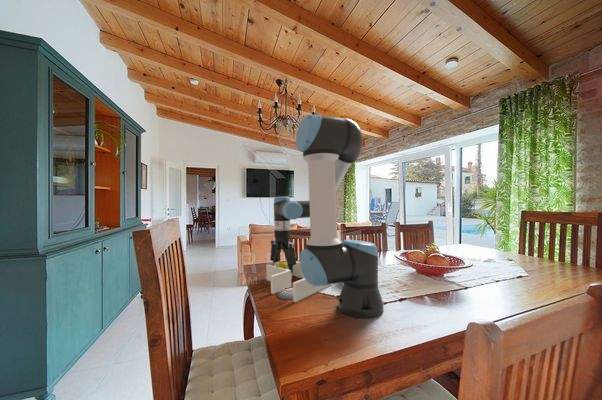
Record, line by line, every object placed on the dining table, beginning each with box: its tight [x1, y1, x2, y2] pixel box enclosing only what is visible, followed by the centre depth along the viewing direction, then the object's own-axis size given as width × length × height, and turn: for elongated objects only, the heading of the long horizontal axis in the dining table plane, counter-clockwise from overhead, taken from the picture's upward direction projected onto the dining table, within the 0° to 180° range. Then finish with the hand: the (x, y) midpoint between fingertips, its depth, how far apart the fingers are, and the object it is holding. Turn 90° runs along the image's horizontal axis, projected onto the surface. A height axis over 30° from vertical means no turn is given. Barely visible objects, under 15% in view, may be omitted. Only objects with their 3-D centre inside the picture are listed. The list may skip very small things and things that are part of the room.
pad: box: [277, 289, 293, 300], centre depth 100 cm, size 8×8×1 cm
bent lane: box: [265, 259, 332, 303], centre depth 111 cm, size 27×23×7 cm
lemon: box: [278, 260, 288, 269], centre depth 120 cm, size 6×6×8 cm
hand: (283, 277), depth 121 cm, fingers open, 8 cm apart
